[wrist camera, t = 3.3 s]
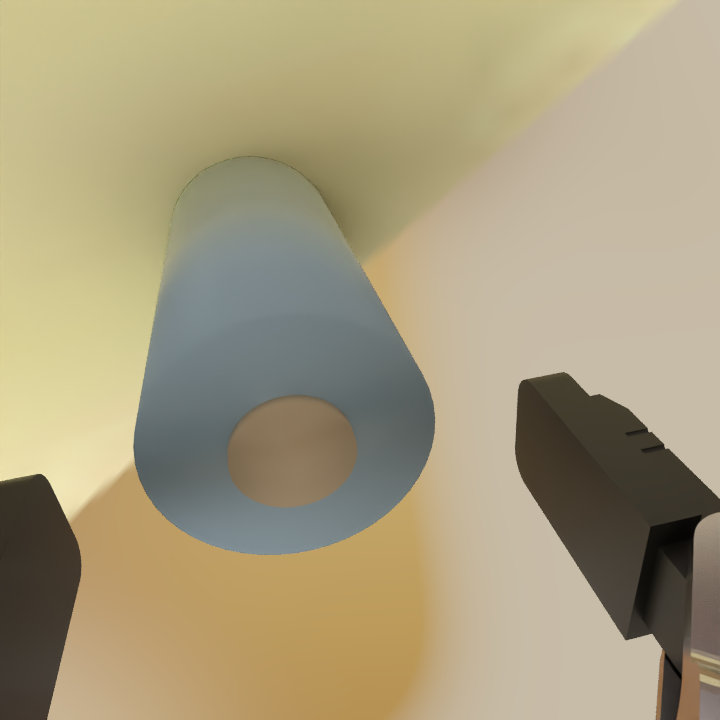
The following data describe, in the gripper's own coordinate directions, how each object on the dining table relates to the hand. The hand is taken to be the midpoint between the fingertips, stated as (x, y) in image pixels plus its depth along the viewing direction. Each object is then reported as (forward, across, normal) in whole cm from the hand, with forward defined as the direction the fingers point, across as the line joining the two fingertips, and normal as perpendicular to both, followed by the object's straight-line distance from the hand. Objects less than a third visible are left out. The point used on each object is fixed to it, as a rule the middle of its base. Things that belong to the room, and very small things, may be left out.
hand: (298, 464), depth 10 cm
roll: (+11, 0, 0) cm, 11 cm away
